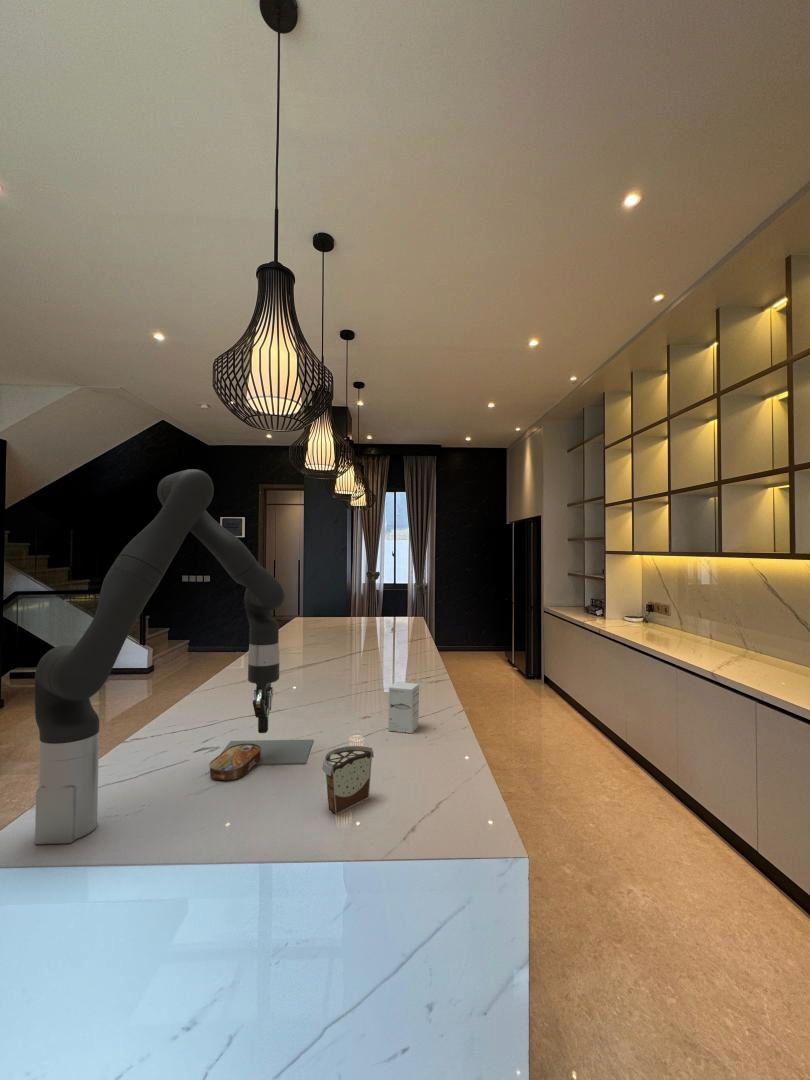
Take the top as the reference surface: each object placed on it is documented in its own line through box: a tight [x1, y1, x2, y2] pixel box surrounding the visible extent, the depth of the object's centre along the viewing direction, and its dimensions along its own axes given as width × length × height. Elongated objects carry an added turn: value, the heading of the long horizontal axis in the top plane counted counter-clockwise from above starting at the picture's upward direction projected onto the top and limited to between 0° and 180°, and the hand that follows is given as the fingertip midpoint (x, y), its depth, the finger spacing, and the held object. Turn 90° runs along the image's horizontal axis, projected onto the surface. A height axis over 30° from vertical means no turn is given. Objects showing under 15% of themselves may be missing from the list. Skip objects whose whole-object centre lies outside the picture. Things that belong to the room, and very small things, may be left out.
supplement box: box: [387, 681, 420, 734], centre depth 154 cm, size 7×7×13 cm
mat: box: [220, 739, 314, 766], centre depth 135 cm, size 16×22×1 cm
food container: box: [321, 745, 375, 816], centre depth 108 cm, size 12×6×10 cm, turn 141°
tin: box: [209, 743, 261, 781], centre depth 125 cm, size 15×3×8 cm
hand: (263, 731), depth 131 cm, fingers closed
